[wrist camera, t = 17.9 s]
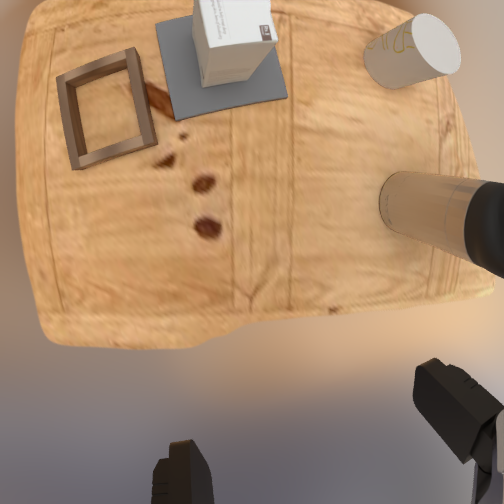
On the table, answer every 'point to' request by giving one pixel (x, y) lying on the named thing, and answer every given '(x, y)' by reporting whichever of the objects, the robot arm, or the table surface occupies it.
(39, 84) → the table surface
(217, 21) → the skincare box
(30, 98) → the table surface
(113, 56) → the walnut collar
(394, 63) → the grey patterned cylinder
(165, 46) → the charcoal mat
